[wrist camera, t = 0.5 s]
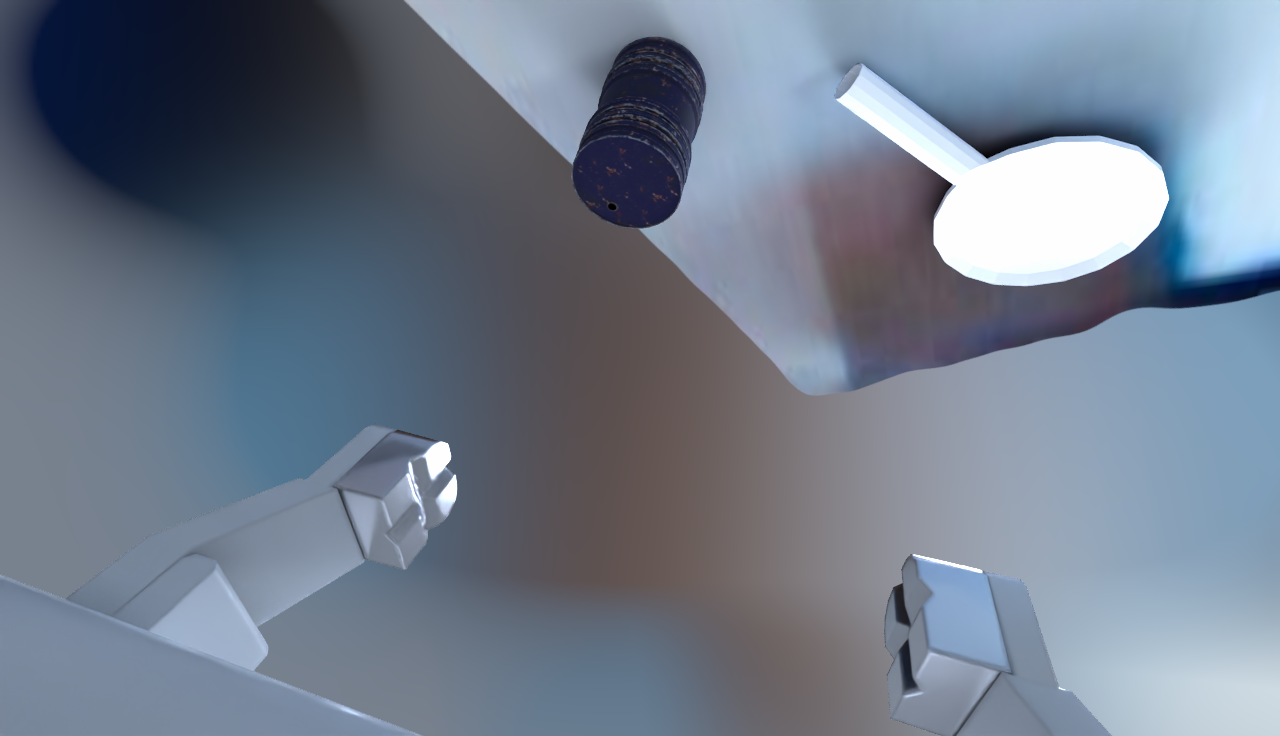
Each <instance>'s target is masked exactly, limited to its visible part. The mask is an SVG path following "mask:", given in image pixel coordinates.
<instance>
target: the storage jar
mask: <svg viewBox="0 0 1280 736" xmlns="http://www.w3.org/2000/svg"><path fill="white" fill-rule="evenodd" d="M705 94H706V83H705V77H704V74H703V71H702V68H701V66H700V64H699V63H698V61H697V60H696V58H695V57H694V56H693V55H692V54H691V52H690V51H689V50H687V49H686V48H685V47H683V46H682V45H680V44H678V43H677V42H675V41H672V40H669V39H666V38H661V37H648V38H642V39H639V40H636V41H634V42H632V43H630V44H629V45H628V46H626V47H625V48H624V49H623V50H622V51H621V52H620V53H619V55H618V56H617V58H616V59H615V62H614V64H613V67H612V69H611V70H610V72H609V74H608V76H607V78H606V81H605V83H604V86H603V89H602V94H601V96H600V99H599V104H598V110H597V111H596V112H595V114H594V115H593V116H592V118H591V119H590V121H589V122H588V125H587V127H586V130H585V132H584V135H583V137H582V140H581V142H580V145H579V150H578V152H577V155H576V157H575V160H574V162H573V166H572V182H573V186H574V189H575V191H576V193H577V195H578V197H579V199H580V200H581V201H582V203H583V204H584V205H585V206H586V207H587V208H588V209H589V210H590V211H591V212H592V213H594V214H595V215H596V216H598V217H599V218H601V219H603V220H604V221H607V222H609V223H611V224H614V225H617V226H621V227H625V228H634V229H637V228H648V227H652V226H655V225H658V224H660V223H662V222H664V221H665V220H667V219H668V218H669V217H670V216H671V215H672V214H673V213H674V212H675V211H676V209H677V208H678V205H679V203H680V200H681V196H682V191H683V187H684V185H685V183H686V179H687V175H688V170H689V167H690V163H691V143H692V142H693V140H694V138H695V135H696V133H697V129H698V126H699V124H700V121H701V116H702V111H703V103H704V99H705Z"/></svg>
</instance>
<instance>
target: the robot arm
mask: <svg viewBox="0 0 1280 736" xmlns="http://www.w3.org/2000/svg"><path fill="white" fill-rule="evenodd" d="M450 459H451V454H450V450H449V447H448V444H445V443H443V442H440V441H437V440H433V439H429V438H426V437H422V436H418V435H414V434H411V433H407V432H403V431H400V430H395V429H391V428H387V427H383V426H379V425H372V426H369V427H366V428H365V429H364V430H363V431H361V432H360V433H359V434H358V435H357V436H356V437H355V438H353V439H352V440H351V441H350V442H349V443H348V444H346V445H345V446H344V447H343V448H342V449H341V450H340V451H338V452H337V453H336V454H335V455H334V456H333V457H332V458H331V459H329V460H328V461H327V462H326V463H325V464H324V465H323V466H322V467H320V468H319V469H318V470H317V471H316V472H315V473H313V474H312V475H311V476H310V477H309V478H308V479H307V480H304V479H301V478H298V479H296V480H293V481H290V482H288V483H285V484H283V485H280V486H277V487H275V488H272V489H269V490H267V491H264V492H261V493H259V494H256V495H253V496H251V497H248V498H246V499H243V500H240V501H238V502H235V503H233V504H230V505H227V506H224V507H222V508H219V509H216V510H214V511H211V512H209V513H206V514H203V515H201V516H198V517H195V518H193V519H190V520H187V521H185V522H182V523H180V524H177V525H174V526H172V527H169V528H166V529H164V530H161V531H158V532H156V533H153V534H151V535H149V536H147V537H146V538H145V539H143V540H142V541H141V542H139V543H138V544H137V545H135V546H134V547H133V548H131V549H130V550H129V551H127V552H126V553H125V554H123V555H122V556H121V557H120V558H118V559H117V560H116V561H115V562H113V563H112V564H110V565H109V566H108V567H106V568H105V569H104V570H102V571H101V572H100V573H98V574H97V575H96V576H95V577H93V578H92V579H91V580H89V581H88V582H87V583H85V584H84V585H83V586H82V587H80V588H79V589H77V590H76V591H75V592H74V593H72V594H71V595H70V596H68V597H67V598H66V599H63V598H61V597H58V596H56V595H53V594H50V593H48V592H45V591H42V590H40V589H37V588H35V587H32V586H29V585H27V584H24V583H22V582H19V581H16V580H14V579H11V578H8V577H6V576H3V575H0V736H422V735H419V734H416V733H414V732H411V731H409V730H406V729H403V728H401V727H398V726H395V725H393V724H390V723H388V722H385V721H382V720H380V719H377V718H375V717H372V716H369V715H367V714H364V713H361V712H359V711H356V710H354V709H351V708H348V707H346V706H343V705H341V704H338V703H335V702H333V701H330V700H328V699H325V698H322V697H320V696H317V695H314V694H312V693H309V692H306V691H304V690H301V689H299V688H296V687H294V686H291V685H288V684H286V683H283V682H280V681H278V680H275V679H272V678H270V677H267V676H265V675H262V674H260V673H257V672H254V669H255V668H256V667H257V666H258V665H259V664H260V663H261V661H262V660H263V659H264V658H265V657H266V656H267V654H268V645H267V643H266V642H265V640H264V638H263V637H262V635H261V633H260V632H259V630H258V628H257V627H258V626H259V625H261V624H263V623H264V622H266V621H267V620H269V619H271V618H273V617H274V616H276V615H278V614H279V613H281V612H283V611H284V610H286V609H287V608H289V607H291V606H292V605H294V604H296V603H297V602H299V601H301V600H302V599H304V598H306V597H307V596H309V595H311V594H312V593H314V592H315V591H317V590H319V589H320V588H322V587H324V586H325V585H327V584H329V583H330V582H332V581H333V580H335V579H337V578H339V577H340V576H342V575H344V574H345V573H347V572H348V571H350V570H352V569H353V568H355V567H357V566H358V565H360V564H362V563H363V562H364V561H365V560H364V559H367V560H371V561H374V562H378V563H382V564H385V565H389V566H393V567H396V568H400V569H404V570H406V568H407V567H408V566H409V565H410V563H411V562H412V561H413V560H414V558H415V557H416V556H417V554H418V553H419V552H420V551H421V549H422V548H423V547H424V545H425V544H426V543H427V541H428V539H427V538H428V537H427V530H429V529H431V528H433V527H435V526H437V525H439V524H441V523H442V522H443V521H444V519H445V518H446V517H447V515H448V514H449V513H450V511H451V509H452V506H453V504H454V501H455V499H456V494H457V482H456V476H455V475H454V473H453V472H452V471H451V470H450V469H449V467H448V466H447V463H448V462H449V461H450ZM902 580H903V583H902V584H900V585H898V586H895V587H893V590H892V592H891V595H890V597H889V600H888V604H887V609H886V615H885V629H884V632H885V647H886V649H887V650H888V652H889V653H890V655H891V656H892V657H893V659H894V662H893V663H892V665H891V668H890V670H889V672H888V674H887V681H888V695H889V708H890V718H891V719H893V720H896V721H899V722H902V723H905V724H908V725H911V726H914V727H917V728H920V729H923V730H926V731H929V732H932V733H935V734H938V735H941V736H1112V735H1111V734H1110V733H1109V732H1108V731H1107V730H1106V729H1105V728H1104V727H1103V726H1102V724H1101V723H1100V722H1099V721H1098V720H1097V719H1096V718H1095V717H1094V716H1093V715H1092V713H1091V712H1090V711H1089V710H1088V709H1087V708H1086V707H1085V706H1084V705H1083V704H1082V702H1080V700H1079V699H1077V697H1076V696H1075V695H1074V694H1073V693H1072V692H1070V691H1067V690H1064V689H1061V688H1059V685H1058V682H1057V679H1056V676H1055V673H1054V670H1053V667H1052V664H1051V661H1050V658H1049V655H1048V652H1047V649H1046V645H1045V642H1044V639H1043V636H1042V633H1041V630H1040V627H1039V624H1038V621H1037V618H1036V615H1035V612H1034V609H1033V605H1032V603H1031V599H1030V596H1029V593H1028V590H1027V587H1026V586H1025V585H1024V583H1023V582H1022V581H1021V580H1019V579H1015V578H1010V577H1006V576H1002V575H998V574H994V573H989V572H985V571H980V570H978V569H973V568H969V567H965V566H960V565H956V564H952V563H947V562H943V561H938V560H934V559H929V558H925V557H921V556H917V555H912V554H911V555H910V556H909V557H908V558H907V559H906V561H905V563H904V565H903V567H902Z"/></svg>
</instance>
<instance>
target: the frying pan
mask: <svg viewBox="0 0 1280 736" xmlns="http://www.w3.org/2000/svg"><path fill="white" fill-rule="evenodd" d="M835 99H836V100H837V101H839V102H840V103H842V104H843V105H844V106H846V107H847V108H848V109H850V110H851V111H853V112H854V113H855V114H857V115H858V116H859V117H861V118H862V119H864V120H865V121H866V122H868V123H869V124H870V125H872V126H873V127H875V128H876V129H877V130H879V131H880V132H882V133H883V134H884V135H886V136H887V137H888V138H890V139H891V140H893V141H894V142H895V143H897V144H898V145H899V146H901V147H902V148H904V149H905V150H906V151H908V152H909V153H910V154H912V155H913V156H915V157H916V158H917V159H919V160H920V161H921V162H923V163H924V164H926V165H927V166H928V167H930V168H931V169H933V170H934V171H935V172H937V173H938V174H939V175H941V176H942V177H944V178H945V179H946V180H948V181H949V182H950V183H952V184H953V185H952V187H951V188H950V189H949V190H948V191H947V192H946V194H945V196H944V198H943V200H942V202H941V204H940V206H939V208H938V210H937V211H936V213H935V215H934V245H935V246H936V248H937V250H938V251H939V253H940V255H941V256H942V258H943V260H944V261H945V263H947V264H948V265H950V266H951V267H953V268H954V269H956V270H957V271H959V272H960V273H962V274H963V275H965V276H967V277H970V278H974V279H977V280H980V281H984V282H987V283H991V284H996V285H1016V286H1032V285H1039V284H1046V283H1054V282H1061V281H1066V280H1069V279H1072V278H1075V277H1078V276H1081V275H1084V274H1087V273H1090V272H1093V271H1096V270H1099V269H1102V268H1103V267H1105V266H1107V265H1108V264H1110V263H1112V262H1114V261H1115V260H1117V259H1119V258H1121V257H1122V256H1124V255H1126V254H1128V253H1129V252H1131V251H1133V250H1134V249H1135V248H1136V247H1137V246H1138V245H1139V244H1140V243H1141V242H1142V241H1143V240H1144V239H1145V238H1146V237H1147V236H1148V235H1149V234H1150V233H1151V232H1152V231H1153V230H1154V229H1155V228H1156V227H1157V226H1158V224H1159V222H1160V220H1161V217H1162V215H1163V212H1164V210H1165V207H1166V205H1167V202H1168V200H1169V197H1168V192H1167V188H1166V184H1165V179H1164V175H1163V171H1162V167H1161V166H1160V165H1159V164H1158V163H1157V162H1156V161H1154V160H1153V159H1152V158H1151V157H1150V156H1149V155H1147V154H1146V153H1145V152H1144V151H1143V150H1142V149H1140V148H1139V147H1138V146H1135V145H1132V144H1128V143H1124V142H1121V141H1117V140H1114V139H1110V138H1106V137H1103V136H1066V137H1052V138H1048V139H1044V140H1040V141H1036V142H1033V143H1029V144H1025V145H1021V146H1017V147H1014V148H1010V149H1008V150H1005V151H1003V152H1001V153H999V154H996V155H994V156H992V157H990V158H988V159H987V158H986V157H984V156H983V155H982V154H980V153H979V152H978V151H976V150H975V149H974V148H972V147H971V146H970V145H968V144H967V143H966V142H965V141H963V140H962V139H961V138H959V137H958V136H957V135H955V134H954V133H953V132H951V131H950V130H949V129H947V128H946V127H945V126H943V125H942V124H941V123H940V122H938V121H937V120H936V119H934V118H933V117H932V116H930V115H929V114H928V113H926V112H925V111H924V110H922V109H921V108H920V107H918V106H917V105H916V104H914V103H913V102H912V101H911V100H909V99H908V98H907V97H905V96H904V95H903V94H901V93H900V92H899V91H897V90H896V89H895V88H893V87H892V86H891V85H889V84H888V83H887V82H886V81H884V80H883V79H882V78H880V77H879V76H878V75H876V74H875V73H874V72H872V71H871V70H870V69H868V68H867V67H866V66H864V65H863V64H862V63H859V64H856V65H855V66H854V67H853V68H852V69H851V70H850V71H849V72H848V73H847V74H846V76H845V77H844V78H843V79H842V81H841V83H840V84H839V86H838V88H837V90H836V93H835Z"/></svg>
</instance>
